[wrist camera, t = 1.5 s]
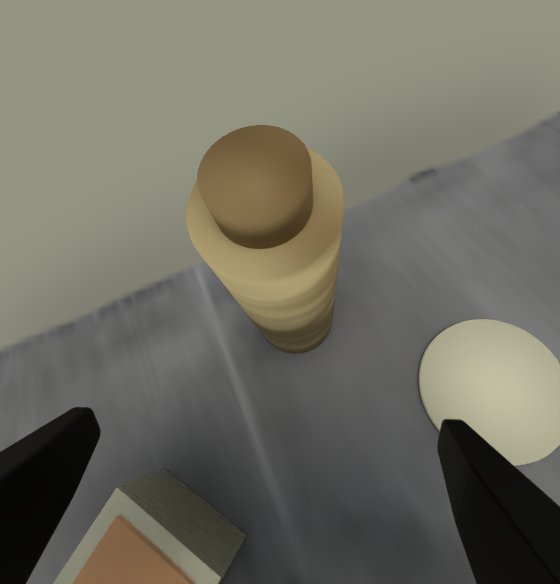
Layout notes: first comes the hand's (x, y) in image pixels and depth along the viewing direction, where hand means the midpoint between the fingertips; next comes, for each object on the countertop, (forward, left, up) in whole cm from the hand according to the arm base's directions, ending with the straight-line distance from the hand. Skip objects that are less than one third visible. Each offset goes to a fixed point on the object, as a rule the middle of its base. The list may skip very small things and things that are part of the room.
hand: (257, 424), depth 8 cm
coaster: (+7, -9, -12) cm, 17 cm away
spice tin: (-10, +2, -12) cm, 16 cm away
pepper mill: (+5, +3, -12) cm, 14 cm away
